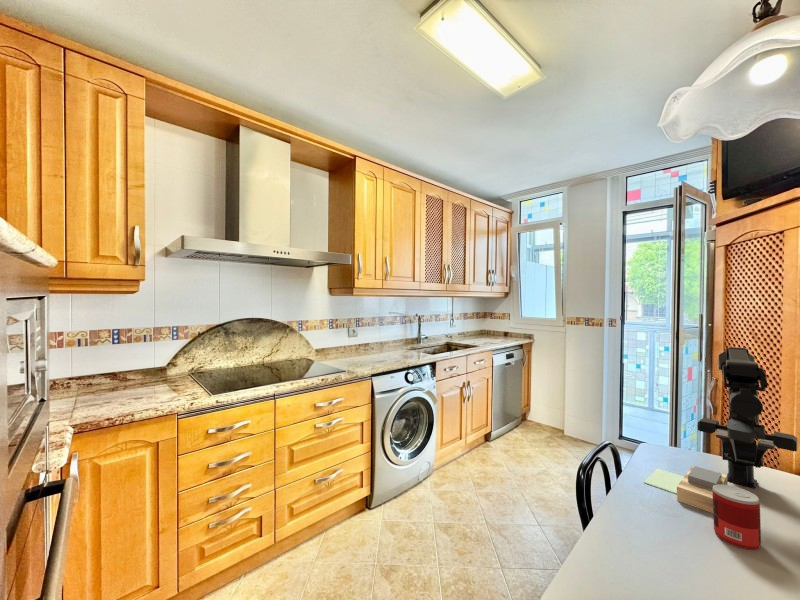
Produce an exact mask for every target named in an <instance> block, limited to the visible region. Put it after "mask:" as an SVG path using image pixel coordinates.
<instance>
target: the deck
mask: <svg viewBox="0 0 800 600" xmlns="http://www.w3.org/2000/svg"><path fill="white" fill-rule="evenodd" d="M694 466H696V465H691V467H690V468H689V469H688V470H687V472H686V474H685V475H684V478H683V479H682V480H681V481H680V483H679V484H678V485H677V494H676V501H677V502H680V503H682V504H686V505H687V506H688V505H689V506H692V507H695V508H697V509H699V510H700V509H701V510H703V511H706V512H708V513H712V514H713V490H712V489H708V488H705V487H702V486H699V485H696V484H692V483H689V482H688V474H689V473H690V472H691V470H692V469H693V468H694ZM696 467H698V466H696ZM720 473H721V474H722V481H721V483H720V484H722V485H728V481H727V474H725V473H722V472H720Z"/></svg>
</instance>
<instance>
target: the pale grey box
mask: <svg viewBox="0 0 800 600" xmlns="http://www.w3.org/2000/svg"><path fill="white" fill-rule="evenodd" d="M693 466H694V468H693V469H692V470H691V472H690V473H689V474H688V482H689V483H692V484H696V485H699V486H702V487H705V488H708V489H712V490H713V486H714V485H718V484H720V483H721V481H722V474H723V473H722V472H718V471H713V470H710V469H708V468H703V467H700V466H697V467H696V465H693ZM721 473H722V474H721Z"/></svg>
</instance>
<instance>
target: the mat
mask: <svg viewBox="0 0 800 600" xmlns="http://www.w3.org/2000/svg"><path fill="white" fill-rule="evenodd" d="M684 476H685V475H684ZM684 476H683V475H679V474H677V473H674V472H670V471H667V470H664V469H661V468H656V469H655V470H654V471H652V473H651V474H650V475H649V476H648V477H647V478H646V479H645V480H644V482H643V484H646V485H650V486H652V487H655V488H658V489H660V490H664V491H667V492H669V493H672V494H674V495H677V485H678V484H679V483H680V481H681V480H682V479H683V478H684Z"/></svg>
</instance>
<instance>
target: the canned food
mask: <svg viewBox="0 0 800 600" xmlns="http://www.w3.org/2000/svg"><path fill="white" fill-rule="evenodd" d="M760 505H761V502H760V498H759V497H758V496H757V495H756V494H755V493H753V492H751V491H748V490H746V489H744V488H740V487H737V486H733V485H722V484H718V485H714V486H713V513H712V515H713V517H712V518H713V529H714V532H715V534H716V536H717V537H719V539H721V540H722V541H724V542H726V543H728V544H729V545H732V546H735V547H738V548H741V549H744V550H752V551H754V550H758V549H760V547H761V545H762V531H761V530H762V528H761V506H760Z"/></svg>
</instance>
